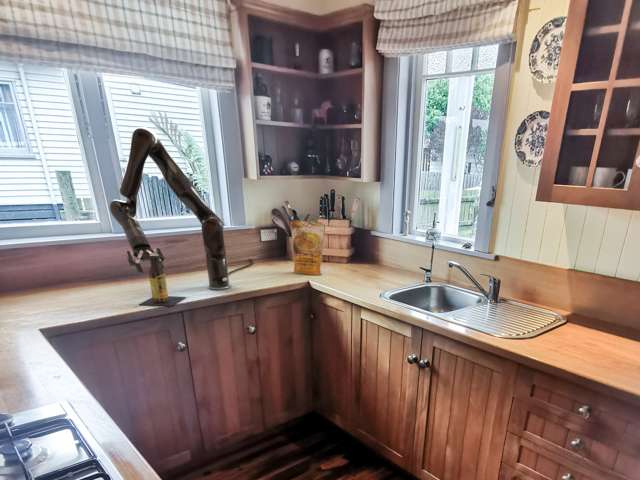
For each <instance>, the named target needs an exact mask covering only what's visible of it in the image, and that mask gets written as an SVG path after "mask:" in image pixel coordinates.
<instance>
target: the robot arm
mask: <svg viewBox="0 0 640 480" xmlns="http://www.w3.org/2000/svg"><path fill="white" fill-rule="evenodd" d="M163 144H164V143H162V141H161V140H160V138H159V136H158V135H157V133H156V132H155V131H154V130H152V129H151V128H148V127H137V128H135V129H134V130H133V131H132V134H131V139H130V147H129V154H128V160H127V164H126V167H125V171H124V174H123V177H122V179H121V180H122V181H121V183H120V186H119V190H118V192H119V194H120V195H121V196H122V197H124V198H126V201H123V200H119V199H112V200H111V201H110V203H109V204H108V205H109V207H108V208H109V212H110V214H111V215H112V218H113V219H114V220H115V221H116V222H117V223H118V224H119V226H121V228H122V230H123V233H124V234H125V238H126V240H127V243H128V244H129V247H130V249H131V251H130V250H127V251H126V254H125V256H126V259H127V260H128V264H129V266H131V267H135V268H136V271H137V273H140V274H143V273H144V269H143V267H142V265H141V263H140V262H141V261H142V262H145V261H150V258H149V255H152V254H158V255H159V256H160V264H161V267H162V269H163V270H164V268H165V266H164V262H165V255H164V254H163V253H162V250H161V249H160V248H159V247H157V248H156V249H153V248H152V246H151V245H150V243H149V239H148V238H147V236H146V235H145V232H144V231H143V228H142V227H141V225H140V223H139V221H138V220H137V219H136V218H135V217H136V215H137V212H138V207H137V205H138V195H139V191H140V188H141V185H142V181H143V173H144V167H145V164H146V161H147V159H148V157H149V158H150V159H151V160H152V161H153V162H154V164H155V165H156V166H157V168H158V170H159V171H160V174H161V176H162V178H163V180H164V181H165V183H166V185H167V186H168V187H169V189H170V191H172V193H173V194H174V196H176V198H178V200H179V201H180V202H181V203H183V204H184V206H185V207H187V208H188V209H189V210H190V211H191V212H192V213H193V215H195V217H196V218H197V220H198V221H199V223H200V224H201V235H202V243H203V247H204V248H203V249H204V254H205V260H206V261H205V262H206V269H207V278H208V287H209V289H210V290H214V291H218V290H219V291H220V290H221V291H222V290H227V289H229V288H230V281H229V280H230V279H229V275H230V274H233V273H235V272H238V271H240V270H242V269H245V268H248V267H249V266H251V265H252V264H253V260H252V259H251V258H249V259H250V260H249V259H248V261H249V262H250V263H248V264H247V265H246V264H245V265H244V266H242V267H239V268H236V269H234V270H230V271H229V270H228V261H227V251H226V245H225V238H224V237H225V236H224V222H223V221H222V219H221V218H220V217H219V216H218V215H217V214H216V213H215V212H214V211H213V210H212V208H211V207H210V206H209V205H208V203H207V202H206V201H205V200H204V198H203V197H202V195H201V193H200V192H199V191H198V189H197V188H196V186H195V184H194V183H193V182H192V181H191V179H190V178H189V177H188V176H187V174H186V173H185V172H184V170H183V169H182V168H181V167H180V165H179V164H178V163H177V162H176V161H175V159H173V158H172V156H171V155H170V154H169V152H168V151H167V149H166V148H165V146H164V145H163ZM133 256H134V257H135V258H136V260H135V261H134V259H133Z"/></svg>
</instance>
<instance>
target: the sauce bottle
mask: <svg viewBox="0 0 640 480" xmlns="http://www.w3.org/2000/svg"><path fill="white" fill-rule="evenodd" d="M149 258H150V260H149V261H150V268H149V269H148V275H149V283H150V291H151V298H152V297H153V301H154V302H158V303H160V302H166V301H168V296H169V292H168V286H167V279H166V273H165V271H164V268H163V269H162V267H161V264H160V256H159V255H158V254H155V253H153V254H152V255H149Z"/></svg>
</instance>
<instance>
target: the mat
mask: <svg viewBox="0 0 640 480" xmlns="http://www.w3.org/2000/svg"><path fill="white" fill-rule="evenodd" d="M185 299H186V296H172V295H168V301H166V302H160V303H158V302H154V301H153V297H152V296H151V297H150V298H148V299H146V300H145V301H143V302H141V303H139V306H146V307H147V306H148V307H168V308H172V307H174V306H175V305H177V304H178V303H180V302H182V301H184V300H185Z"/></svg>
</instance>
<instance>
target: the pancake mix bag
mask: <svg viewBox="0 0 640 480" xmlns="http://www.w3.org/2000/svg"><path fill="white" fill-rule="evenodd" d="M289 223H290V232H291V245H292V252H293V254H292V255H293V261H294V263H293V265H294V266H293V273H295V274H298V275H299V274H300V275H309V276H321V275H322V273H321V267H322V260H323V259H322V258H323V251H324V243H325V231H326V225H325V224H323V222H321V221H308V220H295V219H294V220H290V221H289Z"/></svg>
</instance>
